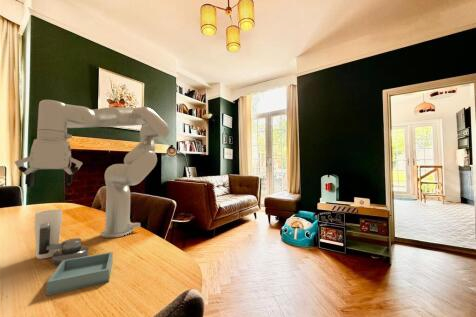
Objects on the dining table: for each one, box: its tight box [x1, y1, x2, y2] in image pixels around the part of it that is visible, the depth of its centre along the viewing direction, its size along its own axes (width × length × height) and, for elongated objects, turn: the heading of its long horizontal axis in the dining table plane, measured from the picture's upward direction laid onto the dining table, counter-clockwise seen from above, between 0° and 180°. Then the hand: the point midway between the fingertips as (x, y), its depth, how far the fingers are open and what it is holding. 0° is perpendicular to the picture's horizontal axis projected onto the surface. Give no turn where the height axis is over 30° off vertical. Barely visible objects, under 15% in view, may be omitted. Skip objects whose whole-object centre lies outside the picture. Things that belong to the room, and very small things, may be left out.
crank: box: [39, 223, 82, 255], centre depth 65 cm, size 11×5×9 cm, turn 112°
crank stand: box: [51, 245, 89, 267], centre depth 68 cm, size 16×9×3 cm, turn 38°
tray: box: [45, 251, 114, 297], centre depth 55 cm, size 12×12×3 cm
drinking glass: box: [34, 208, 63, 260], centre depth 68 cm, size 7×7×15 cm
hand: (49, 186), depth 68 cm, fingers open, 9 cm apart
